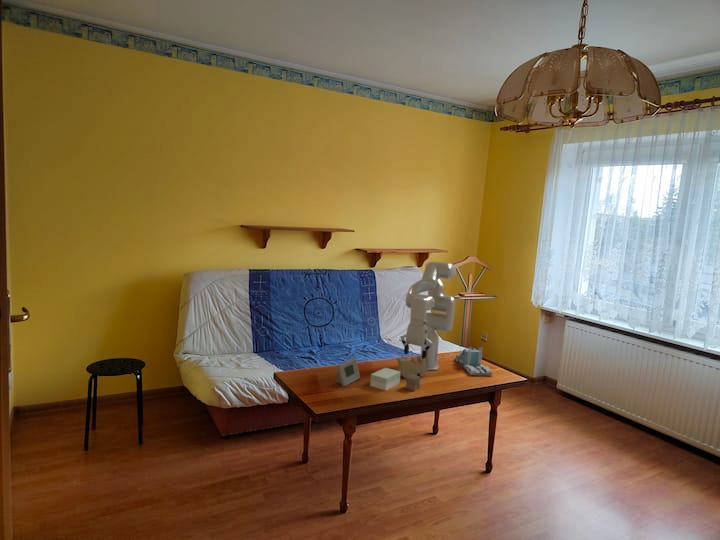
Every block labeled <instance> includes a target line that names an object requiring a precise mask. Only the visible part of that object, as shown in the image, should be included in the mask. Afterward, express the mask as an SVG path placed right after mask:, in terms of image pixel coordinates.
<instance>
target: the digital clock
mask: <svg viewBox="0 0 720 540" xmlns="http://www.w3.org/2000/svg"><path fill="white" fill-rule="evenodd" d="M358 366H359V365H358V362H357V359H356V358H355V357H352V358H350V359H347V360H345V361H343V362H341V363H340V364H338V365H337V366H336V368H337V372H338V373H337V375H336V383H338V384H340V385H341V387H346V386H349V385H351V384H352V383H354V382H355V381H357V380H359V379H360V378H361V374H360V371H359V367H358ZM350 383H351V384H350Z"/></svg>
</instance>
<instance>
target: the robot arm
mask: <svg viewBox="0 0 720 540" xmlns="http://www.w3.org/2000/svg"><path fill="white" fill-rule="evenodd" d="M422 274H423V275H422V277H421V279H419V280H418V281H416V282H415V283H413V284H412V285H411V286H410V287H409V288H408V292H407V294H406V297H405V305H406V307H407V308H409V309H410V318H409V323H408V324H407V328H406V334H404V335H401V336H400V340H401V343H402V345H403V348H404V349H403V354H404V355H408V354H409V350H410V345H413V346H417V347H420V356H421V357H422V359H424V358H425V363H427V364H426V368H427V369H428V371H437V370H439V369H440V365H439V364H438V361H439V357H438V353H439V343H440V342H439V340H440V339H439V338H440V337H439V334H438V333H437V331H439V332H445V333H449V332H451V331H452V329H453V327H454V319H455V318H454V317H455V312H456V310H455V309H456V299H455V298H454V297H453V296H451V295H447V294H445V295H444V288H445V286H444V283H443V282H442V279H443V280H454V279H455V277H456V274H457V268H456V266H455V264H453V263H449V262H443V261H441V262H440V261H430V262H427V264H425V268H424V271H423V273H422ZM424 292H427V294H421V293H424ZM427 311H435V312H427ZM438 312H443V313H438ZM444 313H445V314H444Z"/></svg>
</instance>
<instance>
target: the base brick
mask: <svg viewBox="0 0 720 540" xmlns="http://www.w3.org/2000/svg"><path fill="white" fill-rule="evenodd" d="M400 373H401V372H400V371H398V370H396V369H392V368H388V367H384V368H382V369H379V370H377V371H375V372H373V373H371V374H370V382H369V384H370V385H369V387H373V388H376V389H379V390H383V391H387V390H389V389H391V388H394V387H395V386H397V385H399V384H400V383H401V375H400Z"/></svg>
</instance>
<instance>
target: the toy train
mask: <svg viewBox="0 0 720 540" xmlns="http://www.w3.org/2000/svg"><path fill="white" fill-rule="evenodd" d="M396 361H397V371H400V372H401V373H400V377H402V378H403V379H407V377H408V376H409V375H411V374H412V375H415V376H419V377H420V378H423V377H424V376H425V375H426V373H429V370H428V369H427V368H426V364H427V363H425V358H424V359H422V357H421V355H418V356H416V359H415V358H411V359H410V358H408V357H407V356H404V357H403V356H401V357H396Z"/></svg>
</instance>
